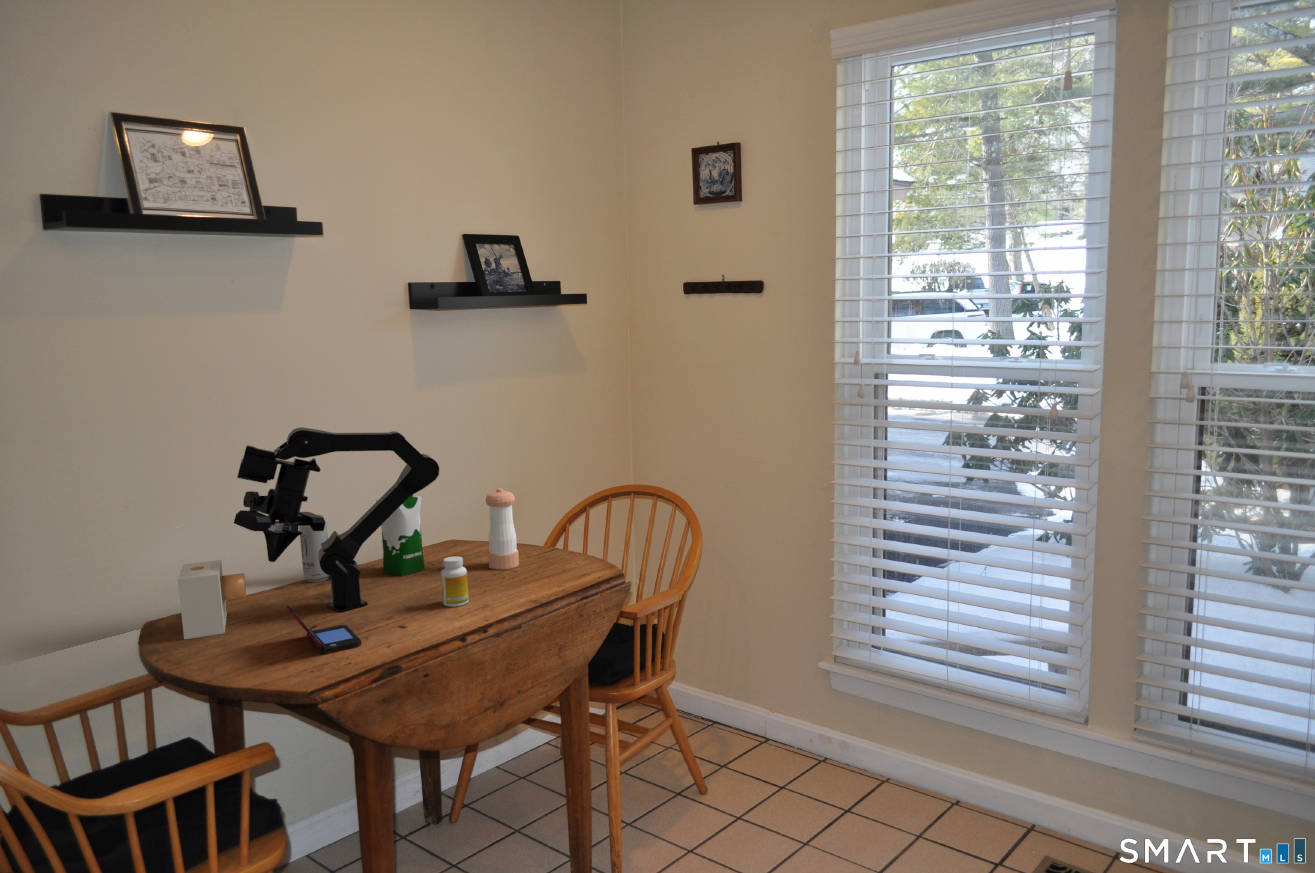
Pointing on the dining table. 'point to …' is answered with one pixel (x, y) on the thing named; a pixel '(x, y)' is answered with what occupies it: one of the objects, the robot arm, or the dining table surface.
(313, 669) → the dining table surface
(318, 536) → the energy drink can
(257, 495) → the robot arm
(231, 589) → the button
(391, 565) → the milk carton
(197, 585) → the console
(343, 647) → the handheld game console
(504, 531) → the pepper shaker
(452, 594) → the supplement bottle
